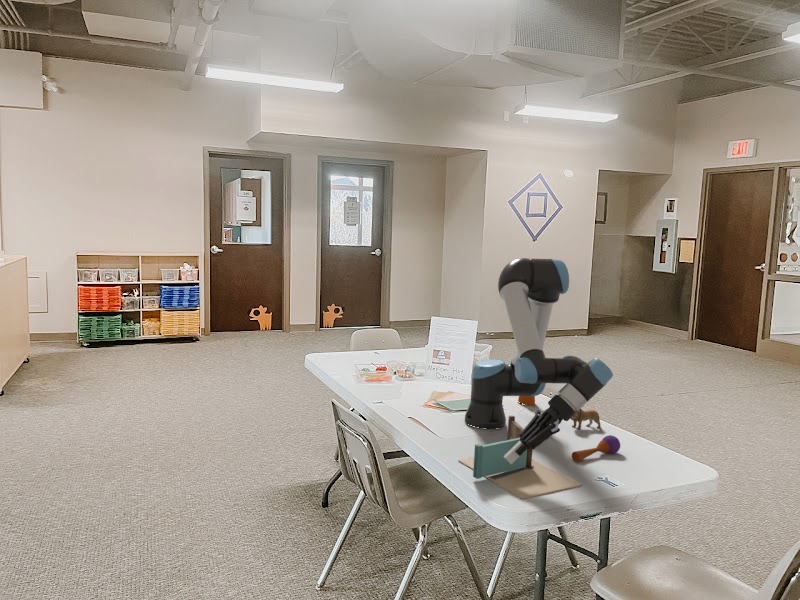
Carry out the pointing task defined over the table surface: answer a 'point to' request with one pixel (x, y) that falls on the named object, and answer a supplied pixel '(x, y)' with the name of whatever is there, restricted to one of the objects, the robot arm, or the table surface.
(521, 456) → the fence gate
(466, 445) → the table surface
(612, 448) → the purple and orange maraca
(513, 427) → the fence frame
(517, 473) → the mat
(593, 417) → the lion figurine
